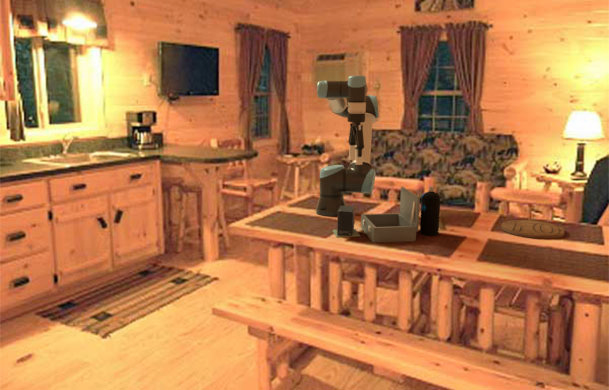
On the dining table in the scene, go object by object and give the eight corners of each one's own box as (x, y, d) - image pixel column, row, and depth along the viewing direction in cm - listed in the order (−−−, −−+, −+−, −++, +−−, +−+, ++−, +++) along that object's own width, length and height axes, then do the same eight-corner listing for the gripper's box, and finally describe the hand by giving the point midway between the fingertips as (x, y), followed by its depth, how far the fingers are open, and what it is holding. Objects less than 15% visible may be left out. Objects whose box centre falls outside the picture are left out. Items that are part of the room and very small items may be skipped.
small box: (352, 236, 212) (352, 211, 209) (336, 235, 213) (337, 210, 211) (354, 229, 222) (355, 205, 220) (339, 228, 223) (340, 205, 221)
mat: (332, 230, 221) (332, 229, 221) (355, 229, 223) (355, 228, 222) (336, 237, 212) (336, 236, 212) (360, 236, 213) (360, 235, 213)
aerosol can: (439, 231, 220) (442, 185, 216) (438, 236, 212) (440, 189, 208) (420, 229, 222) (422, 184, 218) (418, 234, 215) (420, 188, 211)
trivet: (501, 236, 213) (501, 232, 213) (500, 222, 236) (501, 218, 236) (567, 242, 205) (568, 238, 204) (560, 226, 228) (561, 222, 227)
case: (359, 227, 226) (360, 187, 222) (401, 226, 228) (402, 186, 224) (372, 242, 204) (373, 198, 201) (417, 240, 206) (419, 197, 203)
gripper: (342, 111, 230) (341, 158, 234) (354, 114, 206) (353, 166, 210) (358, 111, 231) (357, 158, 235) (372, 114, 207) (371, 166, 211)
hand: (355, 162), depth 223 cm, fingers open, 13 cm apart
